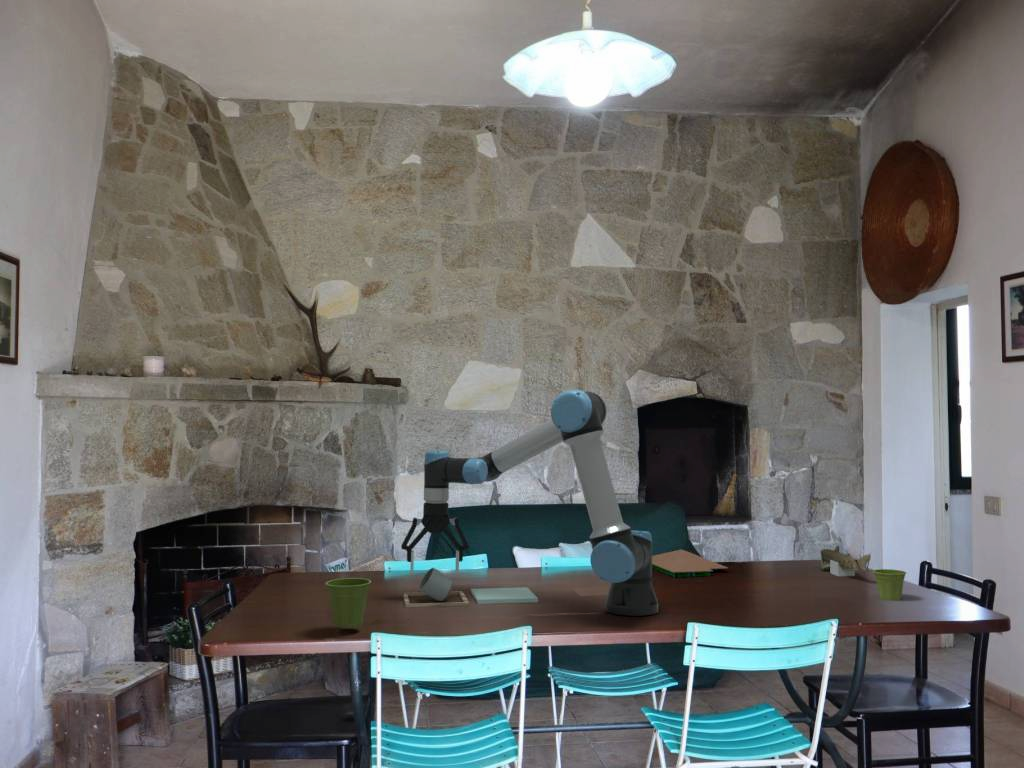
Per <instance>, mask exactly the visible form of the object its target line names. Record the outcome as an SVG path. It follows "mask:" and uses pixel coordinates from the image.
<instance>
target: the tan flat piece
mask: <svg viewBox="0 0 1024 768" xmlns="http://www.w3.org/2000/svg"><path fill="white" fill-rule="evenodd" d="M652 566H653V569H655V570H658V568H660V569H659V572H661V573H663V574H666V575H667V576H672V577H675V574H673V573H678V578H679V579H680V577H681V578H682V577H683V575H686V576H687V577H688V578H691V577H696V574H698V577H700V576H703V574H704V575H705V576H708V577H710V576H711V572H713V571H714V570H720V569H721V570H722V569H729V567H727V566H724V565H722V564H720V563H718V562H715V561H713V560H710V559H707V558H705V557H702V556H699V555H697V554H695V553H693V552H690V551H687V550H684V549H681V548H680V549H678V550H674V551H669V552H663V553H660V554H654V555H652Z"/></svg>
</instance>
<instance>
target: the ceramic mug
mask: <svg viewBox="0 0 1024 768" xmlns="http://www.w3.org/2000/svg"><path fill="white" fill-rule="evenodd" d="M453 587H454V581H452V580H451V579H450V578H449V577H448V576H446V575H444V574H443V573H442V572H441V571H439V570H438V569H437V568H435V567H431V568H430V569H428V570H427V572H426V573H425V574H424V576H423V577H422V579H421V581H420V583H419V586H418V590H419V591H420V592H424V593H425V594H427V596H429V597H431V598H432V599H434V600H435V601H438V602H439V603H442V602H443V601H444V602H445V600H446V599H447V598H448V597H449V596H450V595H449V594H450V592H452V591H453Z"/></svg>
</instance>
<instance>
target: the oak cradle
mask: <svg viewBox="0 0 1024 768" xmlns="http://www.w3.org/2000/svg"><path fill="white" fill-rule="evenodd" d="M402 594H403V600H404V606H405V607H404V608H425V607H428V608H431V607H432V608H433V607H460V606H461V607H465V606H466V607H467V606H470V601H469V600H468V598H467V596H466V595H465V593H464V591H461V590H460V591H459V590H458V591H456V590H455V591H451V592H450V594H449V595H448V596H456V595H457V596H459V597H460V599H461V602H460V601H459V602H458V601H456V602H423V603H422V602H420V603H417V602H416V603H413V602H412V603H410V599H409V597H415V596H417V597H418V596H420V597H423V596H425V597H426V596H428V595H427V594H425V593H424V592H422V591H420V592H417V591H416V592H413V591H412V592H403V593H402Z"/></svg>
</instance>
